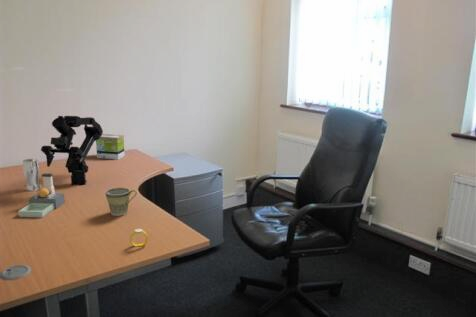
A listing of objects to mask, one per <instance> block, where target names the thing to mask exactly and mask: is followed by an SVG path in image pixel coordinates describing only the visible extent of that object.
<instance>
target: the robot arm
mask: <svg viewBox="0 0 476 317" xmlns="http://www.w3.org/2000/svg"><path fill="white" fill-rule="evenodd" d="M82 125H83V126H84V128H83V130H84V133H85V138H84V140H83V141H82V143H81V144H80V146H73V144H74V143H73V139H74V135H75V136H76V135H77V132H76V131H75V129H74V128H79V127H81V126H82ZM88 125H89V126H88ZM51 126H52V127H53V128H54V129H55V130H56V132H58V133H59V134H60V135H59V136H58V137H51V138H50V145H43V146H41V149H40V151H41V152H42V153H43V154H44V155H45V156H46V167H47V168H50V166H51V164H52V162H53V159H54V158H55V156H54V155H55V153H57V154H59V153H60V154H68V157H67V160H66V163H65V166H64V167H65V169H67V172H68V174H70V173H71V175H70V180H71V181H70V183H71V185H72V186H79V185H80V186H83V185H86V184H87V182H88V181H87V178H86V173H88V171H89V166H88V165H87V162H86V157H87V155H88V154H89V152H90V150H91V148H92V147H93V145H94V143H95V142H96V140H98V139H99V138H100V137H101V135H102V134H104V133H103V128H102V126H101V125H100V124H99V122H97V121H96V120H95V117H91V116H90V117H89V116H88V117H87V116H86V117H80V116H78V115H64V116H63V115H58V116H57V118H56V117H55V119H54V120H52V122H51ZM51 145H53V147H52V146H51Z"/></svg>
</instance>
